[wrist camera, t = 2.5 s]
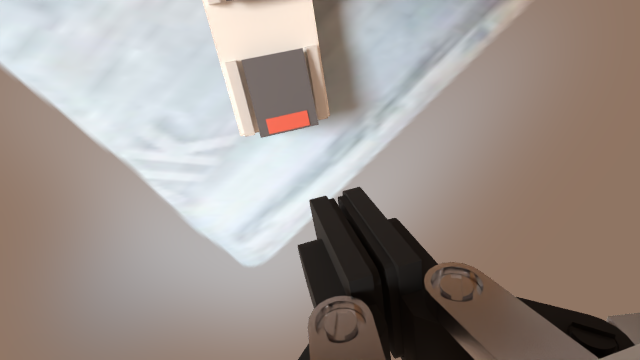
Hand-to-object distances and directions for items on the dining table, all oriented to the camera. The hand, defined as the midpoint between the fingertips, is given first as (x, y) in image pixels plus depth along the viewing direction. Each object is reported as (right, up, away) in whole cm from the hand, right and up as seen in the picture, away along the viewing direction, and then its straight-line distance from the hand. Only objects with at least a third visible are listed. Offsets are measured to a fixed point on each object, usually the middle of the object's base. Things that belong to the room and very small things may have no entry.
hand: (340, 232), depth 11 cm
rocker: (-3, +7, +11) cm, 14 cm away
